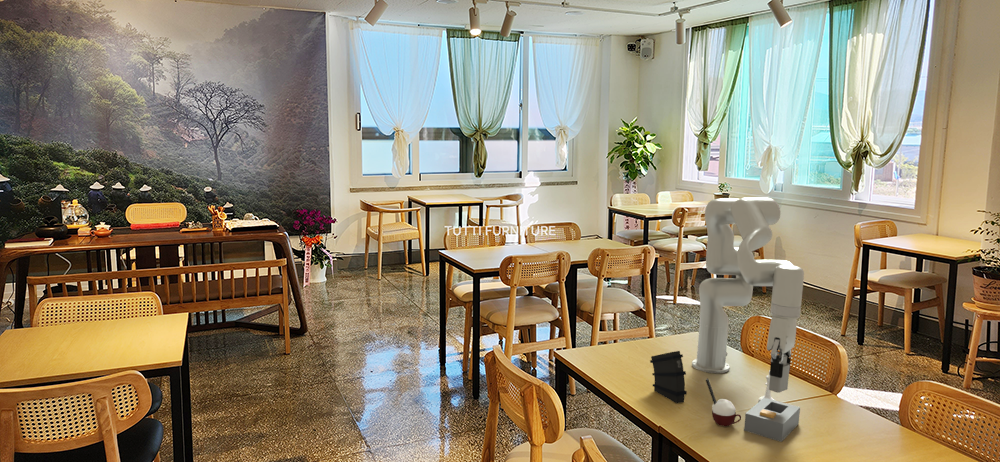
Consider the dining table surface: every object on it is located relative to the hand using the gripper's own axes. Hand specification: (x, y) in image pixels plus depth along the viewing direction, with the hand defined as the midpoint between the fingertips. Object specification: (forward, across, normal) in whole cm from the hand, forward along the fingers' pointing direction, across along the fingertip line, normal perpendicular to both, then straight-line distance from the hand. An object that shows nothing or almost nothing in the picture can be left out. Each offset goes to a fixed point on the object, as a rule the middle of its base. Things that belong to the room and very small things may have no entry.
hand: (779, 372), depth 186 cm
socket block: (+15, +2, 0) cm, 15 cm away
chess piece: (+15, -15, -7) cm, 23 cm away
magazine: (+15, +2, -32) cm, 36 cm away
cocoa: (+15, +10, -12) cm, 22 cm away
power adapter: (+5, 0, 0) cm, 5 cm away
